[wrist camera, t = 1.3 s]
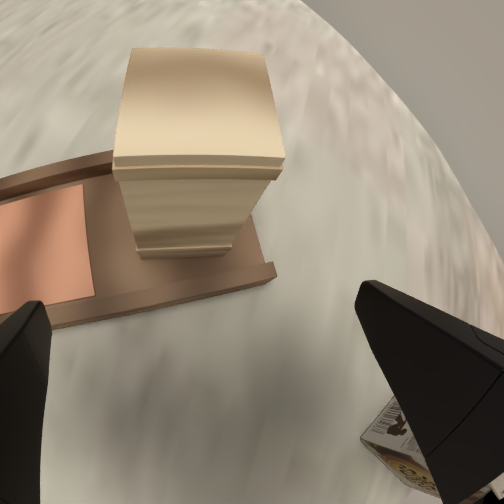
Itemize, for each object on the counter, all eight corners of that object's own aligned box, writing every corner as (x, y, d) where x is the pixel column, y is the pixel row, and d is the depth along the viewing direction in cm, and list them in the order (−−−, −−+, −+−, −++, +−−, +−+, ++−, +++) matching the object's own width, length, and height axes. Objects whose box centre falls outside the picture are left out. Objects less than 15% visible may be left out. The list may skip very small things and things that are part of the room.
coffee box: (443, 434, 23) (584, 446, 8) (405, 486, 20) (545, 528, 5) (403, 380, 23) (576, 374, 8) (356, 438, 21) (534, 487, 6)
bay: (228, 151, 25) (234, 133, 22) (265, 283, 22) (277, 276, 20) (-15, 201, 18) (-28, 188, 16) (-9, 340, 16) (-26, 338, 14)
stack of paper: (225, 257, 21) (288, 160, 10) (139, 261, 20) (109, 159, 9) (218, 181, 23) (265, 53, 12) (140, 182, 21) (129, 47, 10)
